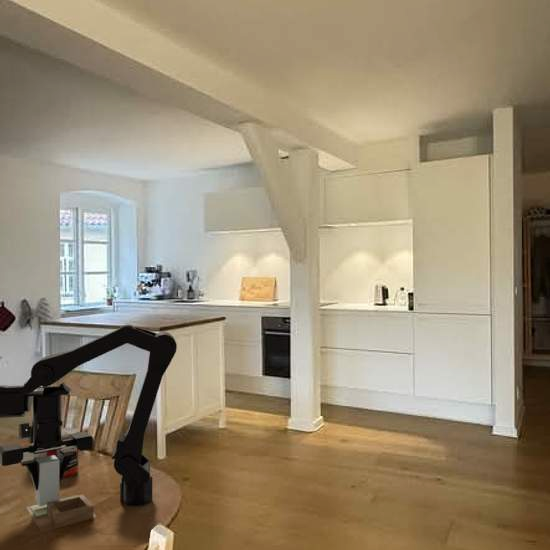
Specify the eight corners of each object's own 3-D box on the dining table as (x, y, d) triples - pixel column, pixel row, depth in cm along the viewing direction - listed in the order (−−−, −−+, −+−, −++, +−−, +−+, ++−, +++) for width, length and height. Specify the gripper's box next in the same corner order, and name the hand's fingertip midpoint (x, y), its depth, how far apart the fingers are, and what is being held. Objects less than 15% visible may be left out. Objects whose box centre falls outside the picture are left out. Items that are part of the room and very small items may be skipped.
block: (59, 501, 115) (59, 460, 115) (39, 506, 112) (39, 464, 112) (54, 495, 118) (54, 455, 118) (35, 500, 116) (35, 458, 116)
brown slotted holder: (97, 521, 111) (97, 504, 111) (41, 536, 105) (41, 519, 105) (77, 499, 123) (77, 484, 123) (25, 511, 116) (25, 495, 116)
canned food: (67, 480, 134) (67, 436, 134) (39, 477, 136) (39, 434, 136) (84, 469, 142) (84, 428, 142) (57, 467, 143) (57, 426, 143)
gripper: (79, 402, 127) (79, 467, 127) (-8, 414, 116) (-8, 485, 116) (95, 411, 118) (94, 481, 118) (2, 425, 107) (2, 502, 107)
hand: (47, 487), depth 115 cm, fingers closed on block, 4 cm apart
